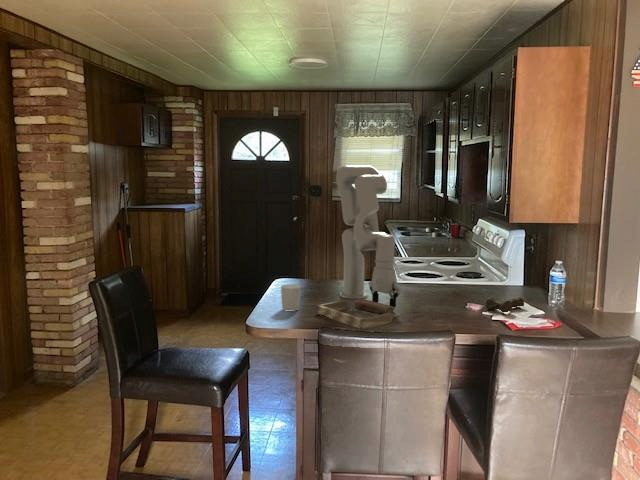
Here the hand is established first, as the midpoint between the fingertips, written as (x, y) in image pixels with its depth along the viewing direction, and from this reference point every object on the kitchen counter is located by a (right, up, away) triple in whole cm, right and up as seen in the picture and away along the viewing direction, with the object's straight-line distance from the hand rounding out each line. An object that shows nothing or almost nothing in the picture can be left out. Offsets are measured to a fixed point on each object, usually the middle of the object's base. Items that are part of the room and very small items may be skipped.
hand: (383, 305), depth 217 cm
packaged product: (-4, -4, -4) cm, 7 cm away
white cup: (-39, -2, +1) cm, 39 cm away
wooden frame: (-13, -4, -10) cm, 17 cm away
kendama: (+51, -3, +2) cm, 51 cm away
